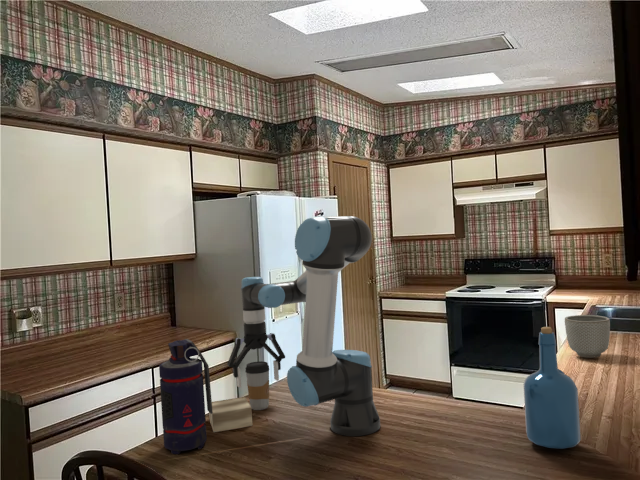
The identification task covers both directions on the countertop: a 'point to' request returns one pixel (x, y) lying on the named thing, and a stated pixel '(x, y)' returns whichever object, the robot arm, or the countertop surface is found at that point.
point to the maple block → (230, 414)
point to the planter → (588, 334)
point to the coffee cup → (258, 384)
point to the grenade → (184, 397)
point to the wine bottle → (551, 400)
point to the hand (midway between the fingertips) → (258, 383)
